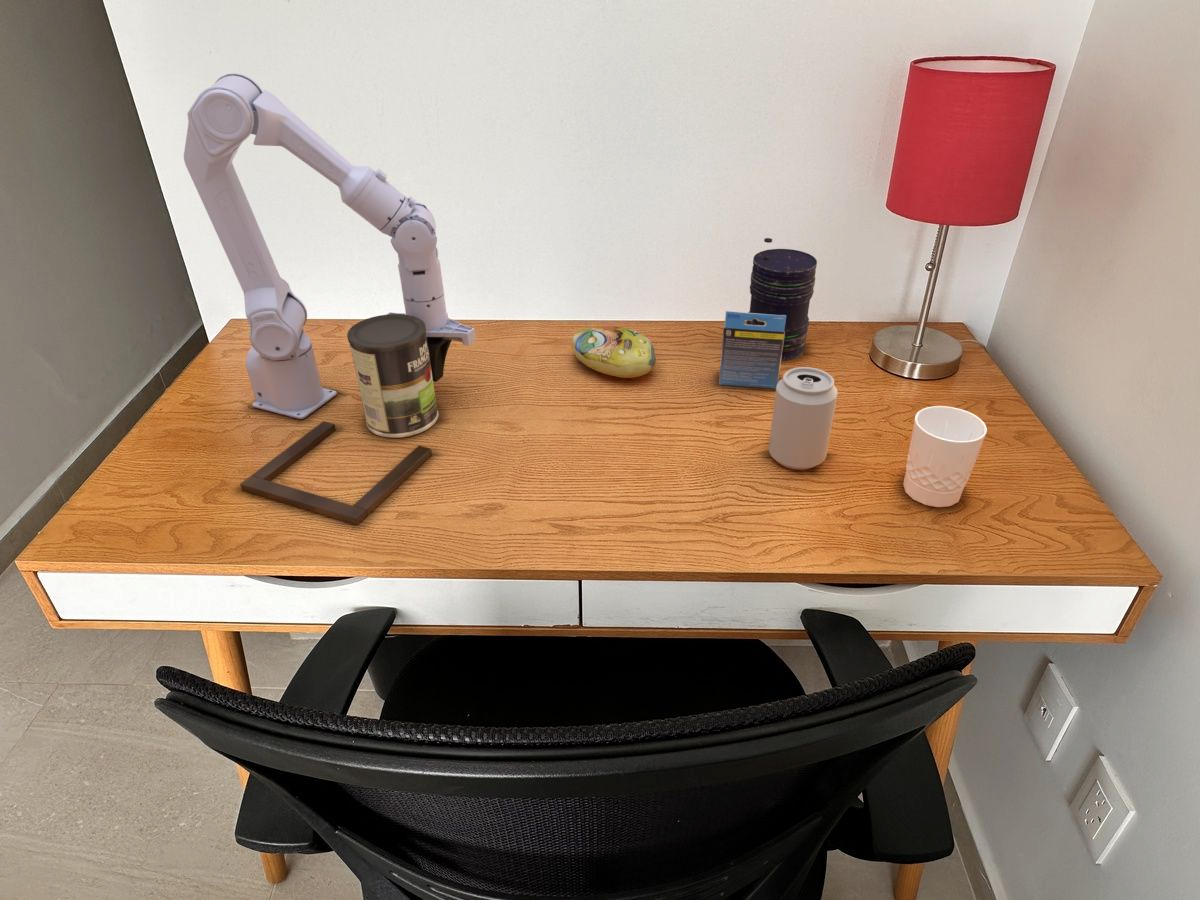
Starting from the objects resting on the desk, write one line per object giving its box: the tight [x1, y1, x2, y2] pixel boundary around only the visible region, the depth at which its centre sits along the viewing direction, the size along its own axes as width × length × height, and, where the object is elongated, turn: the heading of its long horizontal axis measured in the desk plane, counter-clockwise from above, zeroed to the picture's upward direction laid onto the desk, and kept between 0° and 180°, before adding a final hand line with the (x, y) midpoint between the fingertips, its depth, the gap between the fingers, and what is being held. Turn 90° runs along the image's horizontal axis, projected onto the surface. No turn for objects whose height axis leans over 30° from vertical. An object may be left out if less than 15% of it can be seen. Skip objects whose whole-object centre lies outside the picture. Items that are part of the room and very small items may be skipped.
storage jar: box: [745, 237, 818, 362], centre depth 126 cm, size 10×10×18 cm
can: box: [768, 366, 839, 471], centre depth 101 cm, size 8×8×12 cm
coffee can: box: [346, 313, 440, 439], centre depth 110 cm, size 10×10×14 cm
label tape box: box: [718, 310, 786, 390], centre depth 118 cm, size 9×4×12 cm, turn 80°
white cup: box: [902, 405, 988, 508], centre depth 96 cm, size 8×8×10 cm
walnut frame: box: [239, 420, 433, 526], centre depth 103 cm, size 18×16×1 cm
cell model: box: [571, 325, 657, 379], centre depth 125 cm, size 11×8×15 cm
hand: (435, 378), depth 120 cm, fingers closed
